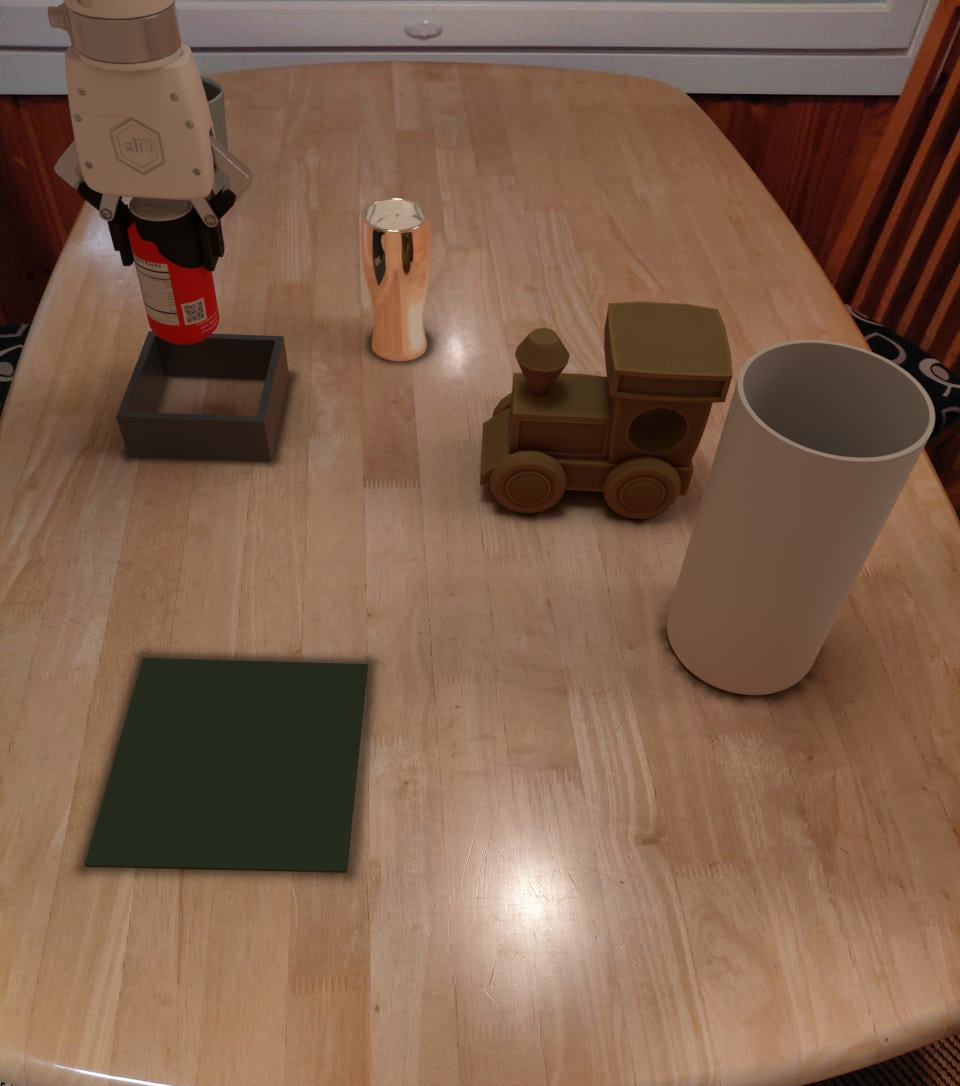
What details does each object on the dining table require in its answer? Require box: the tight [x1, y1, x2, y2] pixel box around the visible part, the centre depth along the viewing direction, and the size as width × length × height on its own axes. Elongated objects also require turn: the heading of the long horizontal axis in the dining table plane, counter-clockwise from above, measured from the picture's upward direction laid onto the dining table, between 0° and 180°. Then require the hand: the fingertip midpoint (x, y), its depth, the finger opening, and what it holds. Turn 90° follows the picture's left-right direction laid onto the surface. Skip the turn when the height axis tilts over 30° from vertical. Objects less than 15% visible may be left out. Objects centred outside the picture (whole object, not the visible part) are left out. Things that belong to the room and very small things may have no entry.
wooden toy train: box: [479, 300, 733, 520], centre depth 86 cm, size 20×11×17 cm, turn 88°
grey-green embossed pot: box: [200, 75, 230, 193], centre depth 121 cm, size 10×10×12 cm
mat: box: [84, 657, 368, 873], centre depth 72 cm, size 18×18×1 cm
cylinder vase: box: [666, 339, 936, 696], centre depth 72 cm, size 12×12×25 cm
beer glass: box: [360, 197, 432, 362], centre depth 100 cm, size 7×7×15 cm
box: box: [115, 330, 290, 463], centre depth 95 cm, size 14×14×5 cm
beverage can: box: [126, 197, 221, 345], centre depth 84 cm, size 6×6×12 cm
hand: (172, 258), depth 84 cm, fingers closed on beverage can, 6 cm apart
